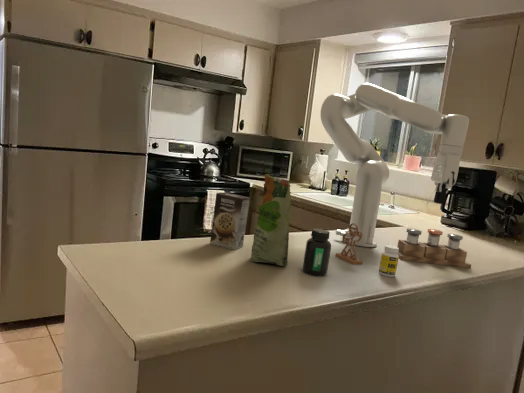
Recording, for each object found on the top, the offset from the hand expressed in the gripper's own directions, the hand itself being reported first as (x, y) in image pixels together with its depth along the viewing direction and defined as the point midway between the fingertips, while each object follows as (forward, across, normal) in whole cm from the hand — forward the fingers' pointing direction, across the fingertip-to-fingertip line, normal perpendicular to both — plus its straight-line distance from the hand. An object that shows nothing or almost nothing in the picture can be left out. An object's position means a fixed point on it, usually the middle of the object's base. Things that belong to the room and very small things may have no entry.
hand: (438, 203), depth 154 cm
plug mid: (+18, 0, +1) cm, 18 cm away
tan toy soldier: (+21, +15, -32) cm, 41 cm away
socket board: (+20, +1, +1) cm, 20 cm away
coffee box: (+22, +15, -71) cm, 76 cm away
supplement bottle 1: (+21, +33, -46) cm, 60 cm away
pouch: (+22, +28, -59) cm, 69 cm away
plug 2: (+18, 0, +8) cm, 20 cm away
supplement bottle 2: (+21, +26, -23) cm, 40 cm away
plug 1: (+19, 0, -7) cm, 20 cm away
